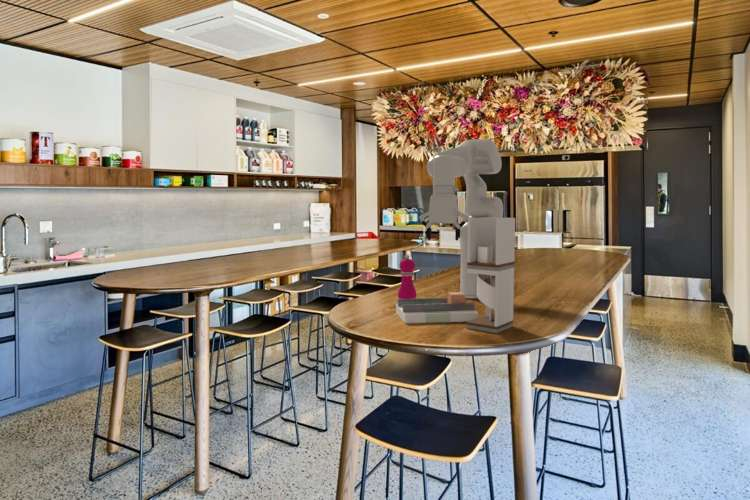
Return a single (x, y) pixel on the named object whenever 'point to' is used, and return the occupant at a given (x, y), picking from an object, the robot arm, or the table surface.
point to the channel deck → (436, 316)
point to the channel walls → (433, 305)
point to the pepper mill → (407, 279)
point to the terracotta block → (456, 297)
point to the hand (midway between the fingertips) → (443, 239)
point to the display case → (492, 270)
